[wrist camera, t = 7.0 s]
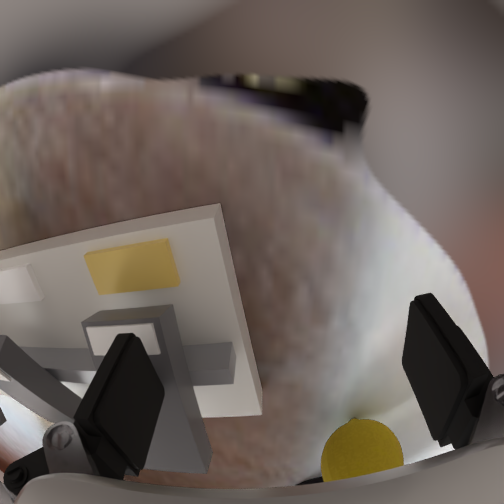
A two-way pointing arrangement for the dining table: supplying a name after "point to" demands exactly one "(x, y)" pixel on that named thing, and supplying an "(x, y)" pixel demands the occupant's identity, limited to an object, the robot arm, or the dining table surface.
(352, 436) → the lemon
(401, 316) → the dining table surface
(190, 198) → the dining table surface
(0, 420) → the block
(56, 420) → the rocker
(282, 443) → the dining table surface
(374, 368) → the dining table surface
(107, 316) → the rocker
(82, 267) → the switch housing
